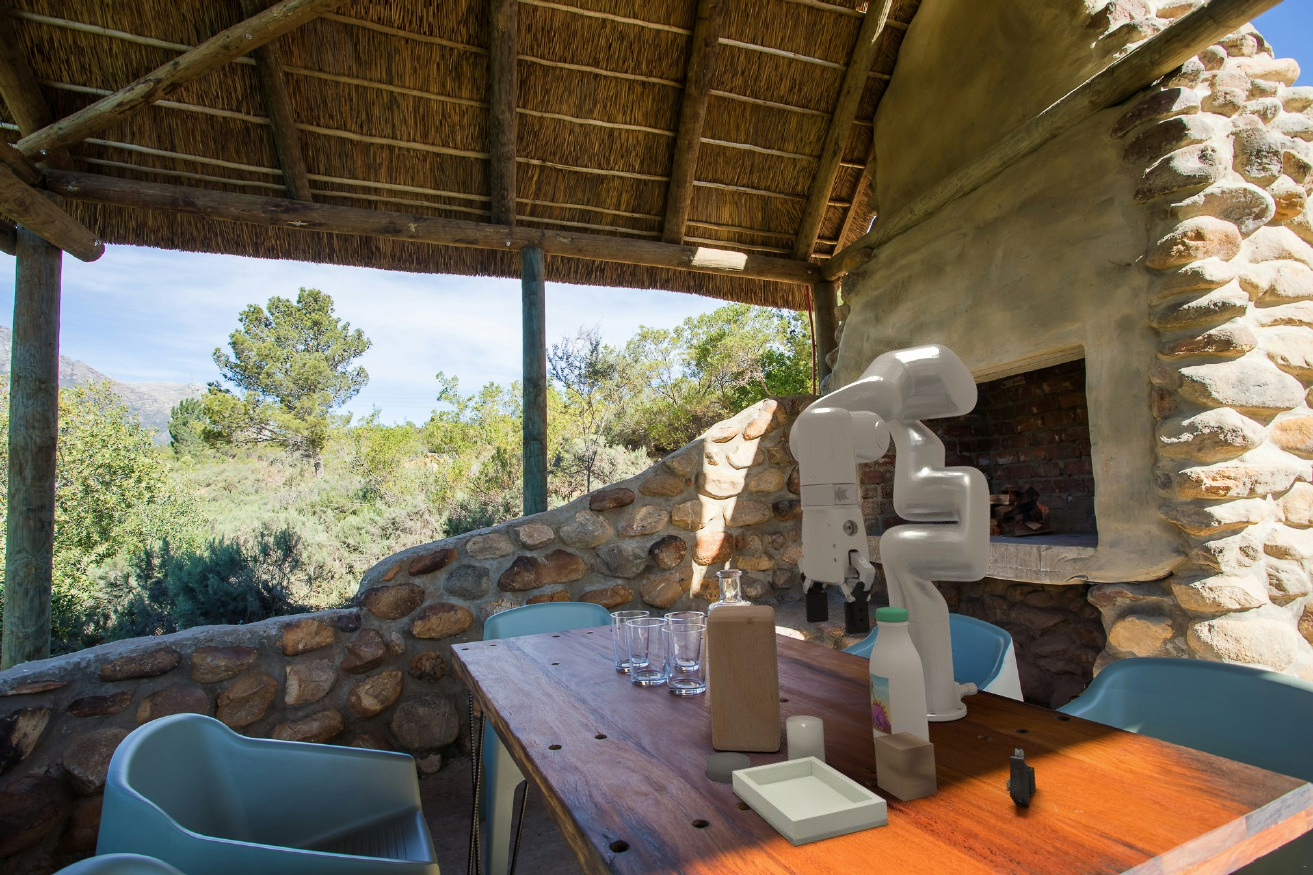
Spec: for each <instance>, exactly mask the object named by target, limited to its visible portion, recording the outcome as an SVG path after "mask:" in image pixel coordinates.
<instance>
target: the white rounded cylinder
mask: <svg viewBox="0 0 1313 875" xmlns="http://www.w3.org/2000/svg"><path fill="white" fill-rule="evenodd" d="M823 724H824V723H823V720H822V718H819V717H817V716H812V715H805V714H803V715H792V716H790V717H788V718H787V719H786V720H785V725H786V726H785V727H786V739H787V740H786V743H787V757H788V758H787V761H791V760H796V759H801V758H807V757H812V756H814V757H815V758H817V759H819V760H820V761H822V762H824V763H825V764H826V755H825V754H826V753H825V737H824V725H823Z"/></svg>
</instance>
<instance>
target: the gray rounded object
mask: <svg viewBox="0 0 1313 875" xmlns="http://www.w3.org/2000/svg"><path fill="white" fill-rule="evenodd" d="M705 762H706V775H707V777H708V779H710V780H711V781H714V782H717V783H722V784H723V783H724V784H733V776H732V771H737V770H742V769H748V768H752V767H751V766H752V765H751V758H750V757H749V756H747V755H746V754H743V753H739V752H733V751H732V752H730V751H729V752H728V751H727V752H726V751H725V752H718V753H714V754H712V755H709V756H708V757H707V758H706V761H705Z"/></svg>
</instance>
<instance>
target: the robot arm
mask: <svg viewBox="0 0 1313 875" xmlns="http://www.w3.org/2000/svg"><path fill="white" fill-rule="evenodd" d="M977 401H978V388H977V384H976V382H975V378H974V376H973V375H972V373H971V372H970V370H969V369H968V368H967V367H966V364H964V362H962V360H961V359H960V358H959V356H958V355H957V354H956V353H955V352H954V351H953V350H952V349H950V348H949V347H947V346H945V345H942V344H939V343H931V344H924V345H920V346H919V345H918V346H913V347H907V348H902V349H896V350H891V351H887V352H884V353H882V354H880V355H878V356H876V358H874V360H873V361H872V362H871V363H870V364H869V365H868V367H867V368H866V369H865V370H864V371H863V373H862V374H861V375H860V377H858V378H857V379H856V381H853V382H852V383H849V384H847V385H845V386H842V387H840V388H839V389H837V390H835V391H833V392H831V393H829V394H826V395H824V396H823V397H821V398H819V399H817V400H815V401H814V402H812V403H811V404H809V405H808V406H807V407H805V409H804V410H803V411H802V412H801V413H800V414H799V415H798V416H797V418H796V420H794V422H793V424H792V426H791V429H790V433H789V438H788V442H789V443H788V444H789V449H790V453H791V454H792V456H793V458H794V459H795V460H796V462H798V468H799V469H798V470H799V485H800V486H799V488H800V489H799V491H800V508H801V511H802V524H801V556H800V557H799V559H798V560H797V565H798V569H799V572H800V577H799V578H800V580H801V582H802V584H803V585H802V590H803V593H805V594H804V595H805V596H804V597H805V614H806V617H805V618H806V622H808V623H809V624H813V623H825V622H828V621H829V620H830V619H829V618H830V617H829V604H828V592H827V591H825V590H826V587H827V585H833V586H839V587H840V588H841V590H842V592H843V594H844V595H845V596H844V597H845V599H846V600H847V601H843V608H844V609H843V611H844V625H845V628H844V629H845V634H848V635H858V634H859V635H860V634H868V633H870V631H871V627H870V613H869V610H870V609H869V601H871V592H872V591H873V589H874V580H875V575H876V569H875V567H874V566H873V564H871V563H870V562H871V561H870V560H871V559H870V553H869V545H868V538H867V533H866V528H865V527H866V526H865V523H864V518H863V514H862V510H861V509H860V507H859V499H858V497H859V496H858V484H857V472H856V471H857V470H856V464H864V463H871V462H875V461H877V460H879V459H880V458H882V457H883V456H884V455H885V454H886V452H887V451H888V449H889V446H890V442H891V437H892V440H893V442H894V446H895V451H896V452H895V456H896V457H895V466H894V467H895V468H894V479H893V493H892V495H893V509H894V511H895V512H896V514H897V515H898V517H900V518H902V519H903V520H907V521H912V522H913V521H914V522H946V521H948V522H952V521H954V522H955V521H957V523H945V524H942V523H940V524H938V523H937V524H933V523H917V524H916V523H914V524H913V523H912V524H899V525H896V526H892V527H890V528H888V529H887V530H885V532H884V533H883V534H882V535H881V537H880V541H879V554H880V555H879V556H880V559H881V565H882V569H883V573H884V577H885V579H886V580H885V581H886V585H887V586H886V587H887V593H888V600H889V601H888V602H889V607H899V608H904V609H907V611H908V623H909V624H908V625H907V629H908V633H909V636H910V638H911V641H912V643H913V645H914V647H915V648H916V650H917V652H918V654H919V657H920V660H921V663H922V667H923V674H924V683H925V695H926V706H927V719H928V722H949V721H950V722H951V721H955V720H960V719H962V718H963V717H965V716H966V715H967V714H968V711H967V709H968V708H967V705H966V704H965V703H964V702H963V701H962V700H961V699H962V698H964V696H972V695H976V694H978V686H977V685H976V684H975V682H966V683H963V684H961V683H960V682H958V681H955V675H954V673H955V672H954V662H953V661H954V660H953V652H952V650H953V649H952V638H951V627H950V626H951V625H950V614H949V607H948V604H947V602H946V600H945V597H943V595H942V593H941V592H940V591H939V590H938V588H937V586H935V585H934V584H933V582H935V581H936V582H937V581H941V582H942V581H943V582H944V581H945V582H947V581H949V582H976V581H980V580H982V579H983V578H984V577H985V576H986V575H987V573H988V570H989V567H990V556H991V555H990V552H991V550H990V548H991V546H990V545H991V544H990V543H991V542H990V541H991V535H990V534H991V533H990V532H991V500H990V496H991V495H990V489H989V483H988V481H987V478H986V476H985V475H984V473H983V472H982V471H980V470H979V468H976V467H973V466H967V465H966V466H965V465H961V466H959V465H958V466H945V463H946V462H945V460H946V458H945V457H946V447H945V445H944V443H943V442H942V440H941V439H940V438H939V437H938V435H936V434H935V433H934V431H932V430H931V429H930V428H928V427H927V426H926V425H924V424H923V422H921V420H929V419H932V420H933V419H941V418H950V417H958V416H959V417H960V416H964V415H966V414H969V413H971V412H972V411H973V409H974V408H975V406H976V404H977ZM890 435H891V436H890ZM932 581H933V582H932ZM852 587H853V588H852Z"/></svg>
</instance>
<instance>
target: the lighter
mask: <svg viewBox="0 0 1313 875" xmlns="http://www.w3.org/2000/svg"><path fill="white" fill-rule="evenodd" d="M1024 752H1025V751H1024V750H1023V749H1022V748H1020V749H1018V748H1014V756H1010V758H1009V778H1008V779H1007V780H1006V782H1005V784H1006V785H1005V787H1006V789H1005V791H1007V792H1009V797H1010V798H1011V800H1012V801H1013V803H1014V805H1017V806H1020V805H1021V806H1020V807H1025V808H1030V807H1031V806H1030V796H1033V795H1035V793H1036V776H1035V774H1036V773H1035V767H1034V766H1029V765H1027V763H1026V761H1025V753H1024Z"/></svg>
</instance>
